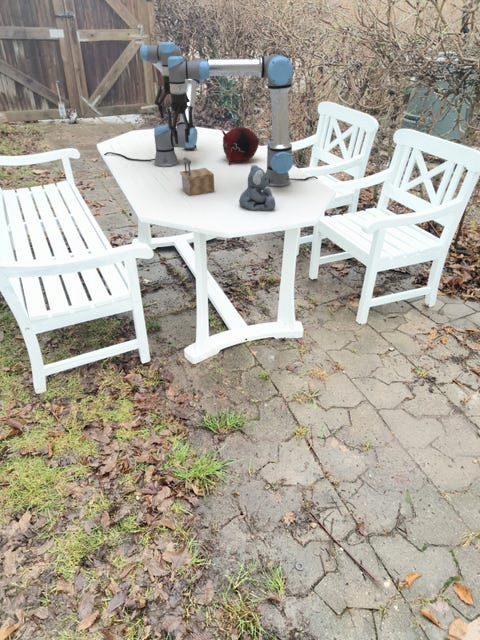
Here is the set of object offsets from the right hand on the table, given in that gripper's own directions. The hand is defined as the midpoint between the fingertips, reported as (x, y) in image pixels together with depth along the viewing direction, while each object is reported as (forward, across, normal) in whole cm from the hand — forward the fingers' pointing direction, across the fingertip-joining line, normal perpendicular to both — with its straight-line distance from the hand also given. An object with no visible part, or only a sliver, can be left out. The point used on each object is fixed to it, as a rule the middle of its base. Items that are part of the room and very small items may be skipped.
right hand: (182, 142), depth 232 cm
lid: (+18, +7, 0) cm, 19 cm away
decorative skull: (+26, +55, +46) cm, 76 cm away
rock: (+26, +34, +88) cm, 98 cm away
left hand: (-6, +8, +36) cm, 38 cm away
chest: (+26, +8, 0) cm, 27 cm away
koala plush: (+26, +25, -36) cm, 51 cm away
